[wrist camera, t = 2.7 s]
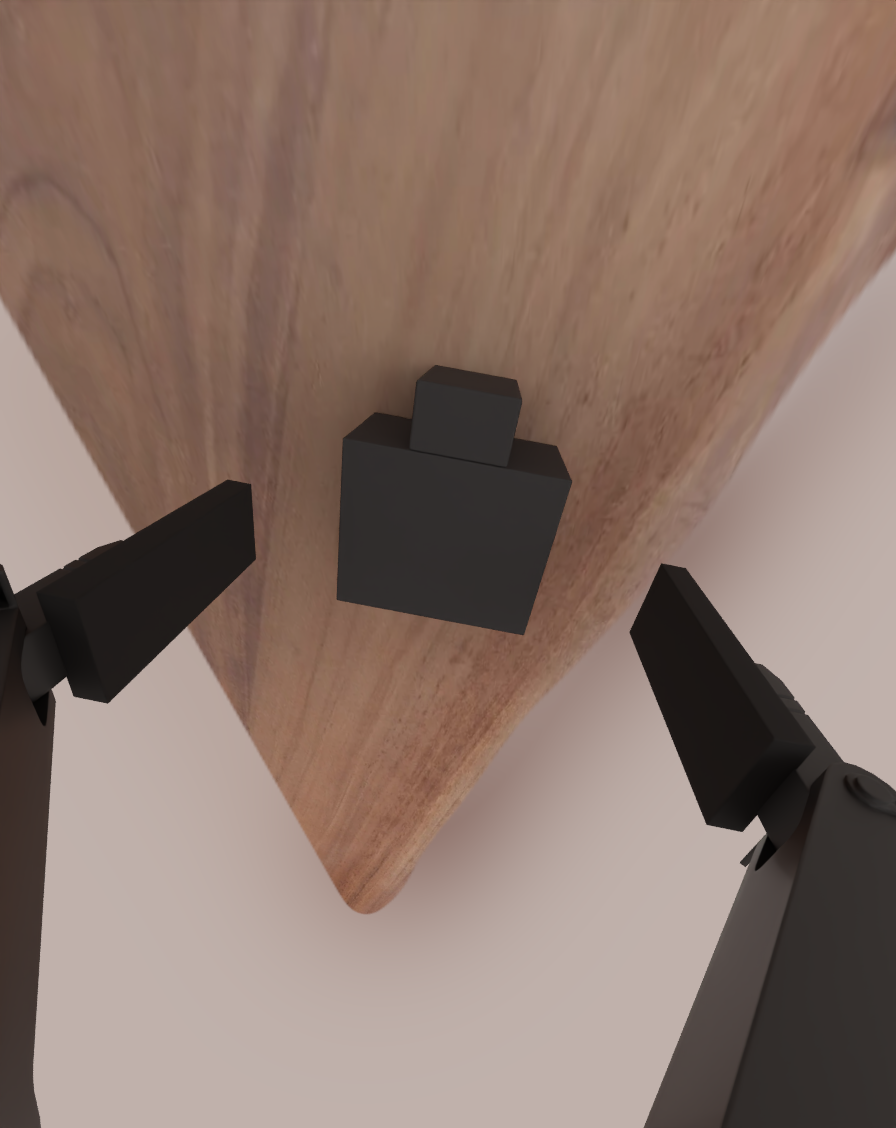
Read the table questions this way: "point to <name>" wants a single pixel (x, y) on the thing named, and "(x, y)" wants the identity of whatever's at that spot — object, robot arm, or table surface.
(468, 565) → the black block
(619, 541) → the table surface
